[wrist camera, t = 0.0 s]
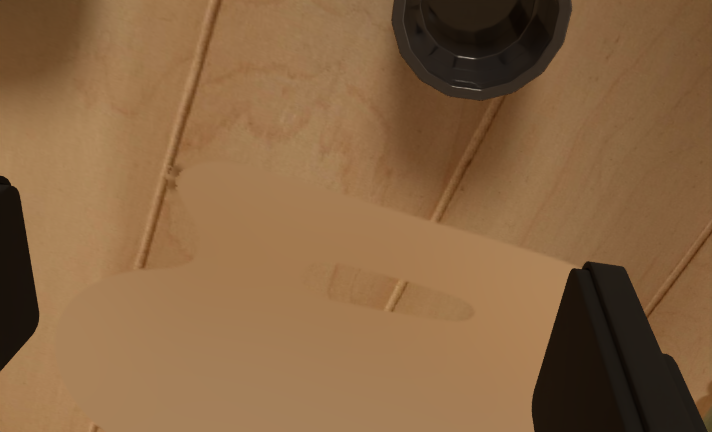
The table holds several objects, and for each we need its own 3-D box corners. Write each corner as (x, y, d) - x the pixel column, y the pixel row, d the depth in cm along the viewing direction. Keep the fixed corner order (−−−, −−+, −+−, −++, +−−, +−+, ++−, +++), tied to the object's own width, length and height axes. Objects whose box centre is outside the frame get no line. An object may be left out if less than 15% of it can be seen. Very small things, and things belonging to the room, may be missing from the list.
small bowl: (412, -99, 30) (404, -91, 25) (566, -81, 30) (591, -69, 25) (393, 53, 34) (383, 88, 28) (531, 70, 33) (547, 110, 28)
